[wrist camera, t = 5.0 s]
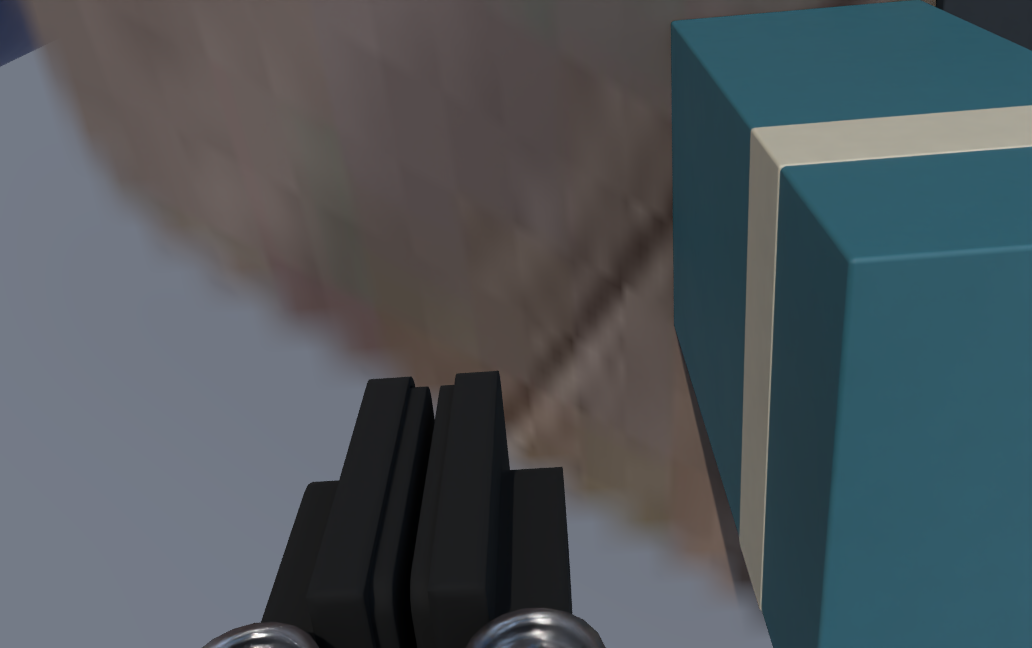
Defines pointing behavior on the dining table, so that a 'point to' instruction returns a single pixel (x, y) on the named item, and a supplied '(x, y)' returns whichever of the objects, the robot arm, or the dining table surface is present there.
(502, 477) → the robot arm
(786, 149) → the carton
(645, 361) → the dining table surface
